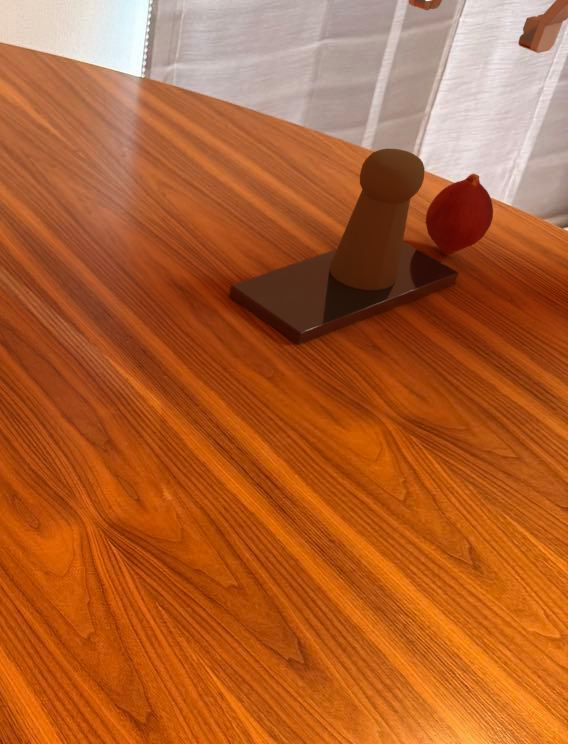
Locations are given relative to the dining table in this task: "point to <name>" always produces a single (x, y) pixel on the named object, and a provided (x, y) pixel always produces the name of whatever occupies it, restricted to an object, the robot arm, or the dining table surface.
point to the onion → (459, 215)
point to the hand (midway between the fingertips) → (476, 26)
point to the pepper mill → (378, 221)
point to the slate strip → (334, 293)
